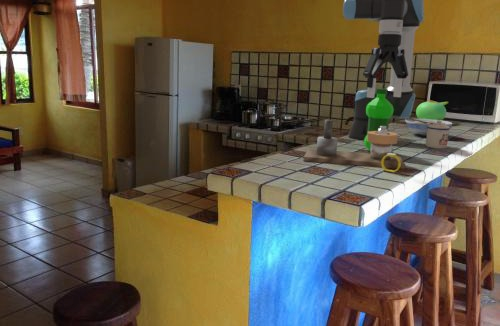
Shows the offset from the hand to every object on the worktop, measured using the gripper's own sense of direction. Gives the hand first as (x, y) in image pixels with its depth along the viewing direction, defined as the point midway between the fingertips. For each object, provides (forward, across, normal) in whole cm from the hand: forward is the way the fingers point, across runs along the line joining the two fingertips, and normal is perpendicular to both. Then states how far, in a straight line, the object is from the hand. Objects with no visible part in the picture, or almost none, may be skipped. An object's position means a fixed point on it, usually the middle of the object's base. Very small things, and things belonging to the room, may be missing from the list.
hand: (384, 97), depth 152 cm
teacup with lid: (+24, +50, +11) cm, 57 cm away
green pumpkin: (+24, +127, +69) cm, 146 cm away
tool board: (+23, -7, +6) cm, 25 cm away
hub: (+22, 0, -1) cm, 22 cm away
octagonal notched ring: (+16, 0, -1) cm, 16 cm away
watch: (+23, -8, -12) cm, 27 cm away
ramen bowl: (+24, +75, +34) cm, 86 cm away
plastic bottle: (+23, +15, +15) cm, 31 cm away
